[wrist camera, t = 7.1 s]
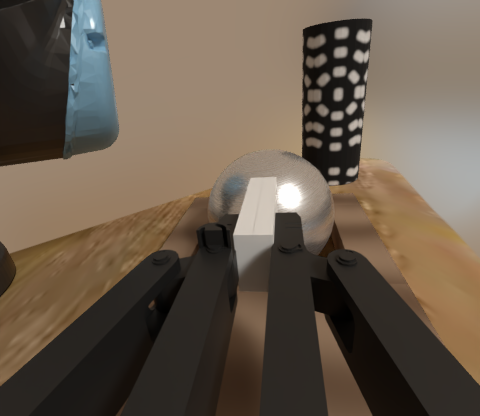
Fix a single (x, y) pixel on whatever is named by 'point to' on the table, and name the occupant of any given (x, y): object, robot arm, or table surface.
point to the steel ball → (279, 192)
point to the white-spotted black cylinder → (335, 96)
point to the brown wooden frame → (333, 362)
